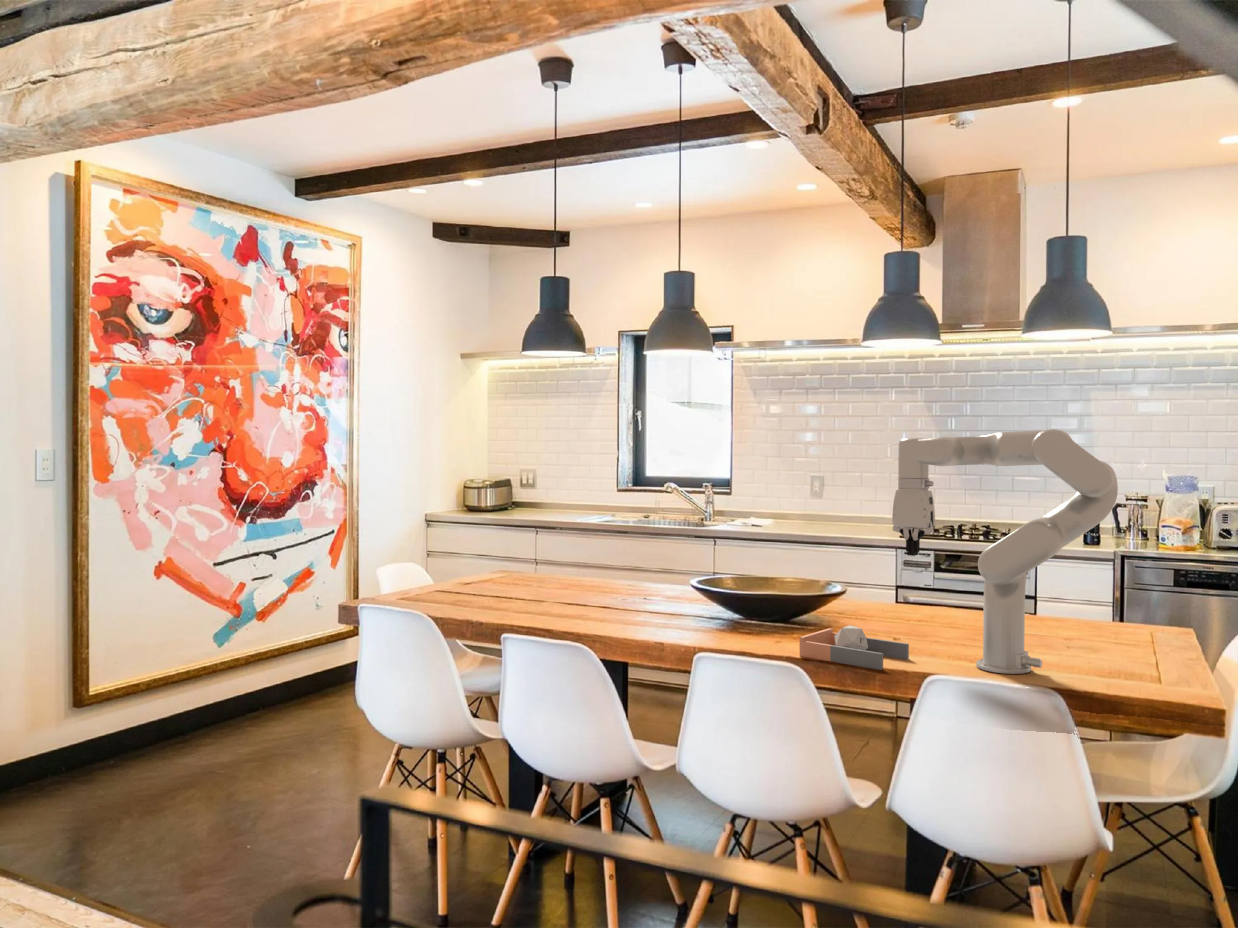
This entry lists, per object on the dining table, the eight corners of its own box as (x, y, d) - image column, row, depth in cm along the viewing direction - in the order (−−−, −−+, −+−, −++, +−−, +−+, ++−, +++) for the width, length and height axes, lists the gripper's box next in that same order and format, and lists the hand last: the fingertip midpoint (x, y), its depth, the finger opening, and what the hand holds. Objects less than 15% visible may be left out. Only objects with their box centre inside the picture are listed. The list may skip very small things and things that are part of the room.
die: (834, 661, 237) (855, 635, 233) (823, 639, 244) (843, 613, 241) (858, 670, 240) (879, 644, 236) (847, 647, 247) (867, 622, 244)
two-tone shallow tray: (908, 659, 237) (908, 640, 237) (881, 670, 225) (881, 650, 225) (829, 646, 252) (829, 628, 252) (799, 655, 240) (799, 637, 240)
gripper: (947, 485, 236) (946, 556, 236) (892, 483, 245) (892, 551, 246) (935, 486, 230) (934, 558, 230) (880, 484, 240) (879, 554, 240)
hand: (912, 554), depth 238 cm, fingers closed
